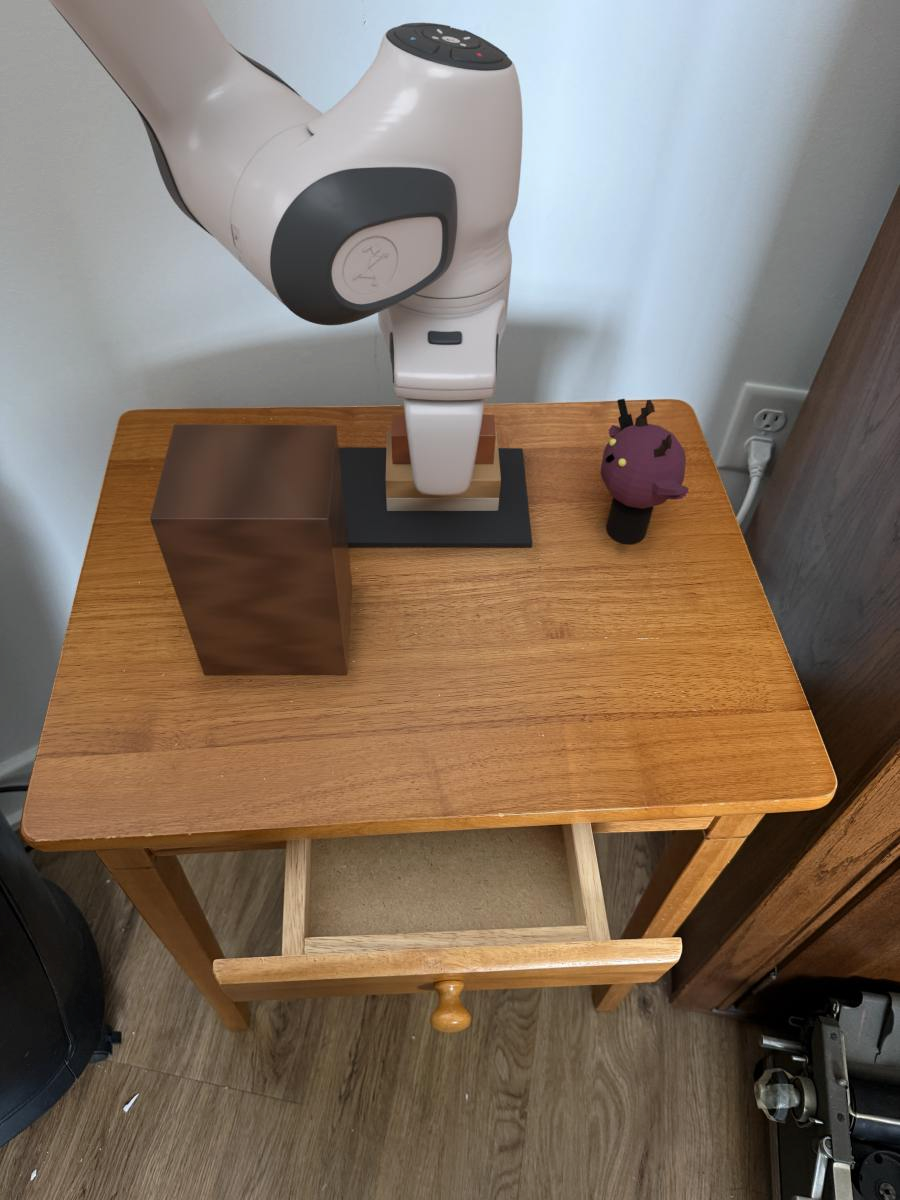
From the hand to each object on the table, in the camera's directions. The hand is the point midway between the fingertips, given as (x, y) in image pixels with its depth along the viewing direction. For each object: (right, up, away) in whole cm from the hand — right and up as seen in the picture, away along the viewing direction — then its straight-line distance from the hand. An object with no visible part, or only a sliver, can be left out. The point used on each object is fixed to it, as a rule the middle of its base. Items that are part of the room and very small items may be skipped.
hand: (438, 453), depth 71 cm
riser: (-11, -14, -6) cm, 19 cm away
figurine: (+15, -6, +1) cm, 17 cm away
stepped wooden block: (0, -2, +3) cm, 4 cm away
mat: (-3, -3, +3) cm, 5 cm away
